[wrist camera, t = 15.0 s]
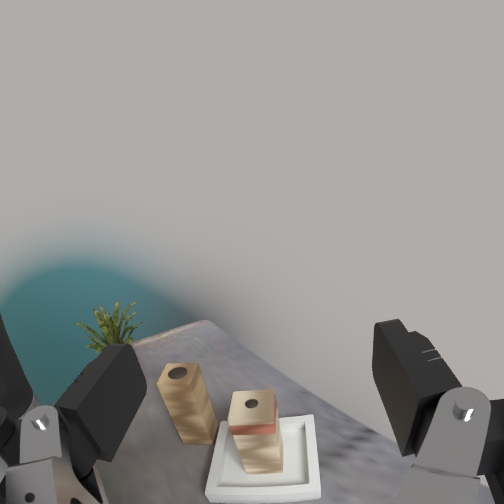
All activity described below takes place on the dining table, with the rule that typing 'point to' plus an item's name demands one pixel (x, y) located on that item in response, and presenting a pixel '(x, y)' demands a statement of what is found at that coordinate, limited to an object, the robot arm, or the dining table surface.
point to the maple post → (257, 431)
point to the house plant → (110, 329)
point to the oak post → (188, 403)
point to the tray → (267, 485)
